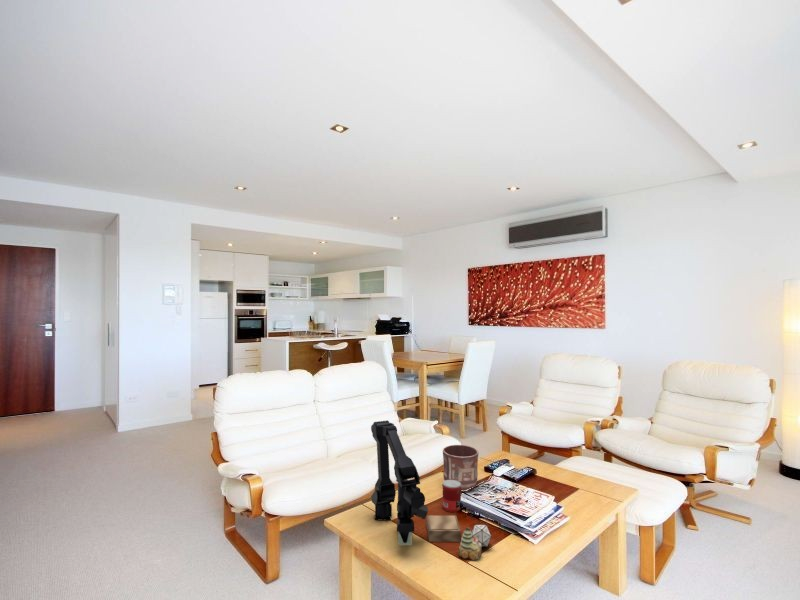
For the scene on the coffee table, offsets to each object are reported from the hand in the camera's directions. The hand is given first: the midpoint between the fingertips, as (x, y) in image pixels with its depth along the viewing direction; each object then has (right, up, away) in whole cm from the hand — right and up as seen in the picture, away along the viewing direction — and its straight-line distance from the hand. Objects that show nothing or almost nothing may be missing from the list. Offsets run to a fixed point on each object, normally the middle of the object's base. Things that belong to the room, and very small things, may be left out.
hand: (405, 538), depth 163 cm
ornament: (+23, -1, -9) cm, 25 cm away
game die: (+28, -2, -3) cm, 28 cm away
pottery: (+28, -2, +49) cm, 56 cm away
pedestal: (+15, -1, +6) cm, 16 cm away
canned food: (+21, -2, +27) cm, 34 cm away
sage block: (0, -1, 0) cm, 1 cm away
